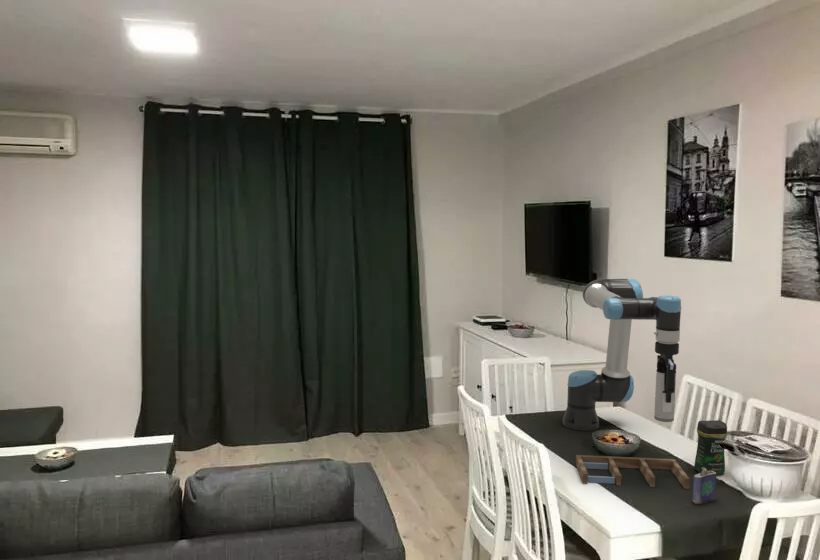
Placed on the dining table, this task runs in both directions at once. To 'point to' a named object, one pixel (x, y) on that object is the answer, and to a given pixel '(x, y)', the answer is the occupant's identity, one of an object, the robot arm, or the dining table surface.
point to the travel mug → (659, 413)
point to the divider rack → (633, 462)
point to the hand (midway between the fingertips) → (664, 408)
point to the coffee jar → (710, 446)
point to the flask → (704, 486)
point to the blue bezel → (598, 478)
